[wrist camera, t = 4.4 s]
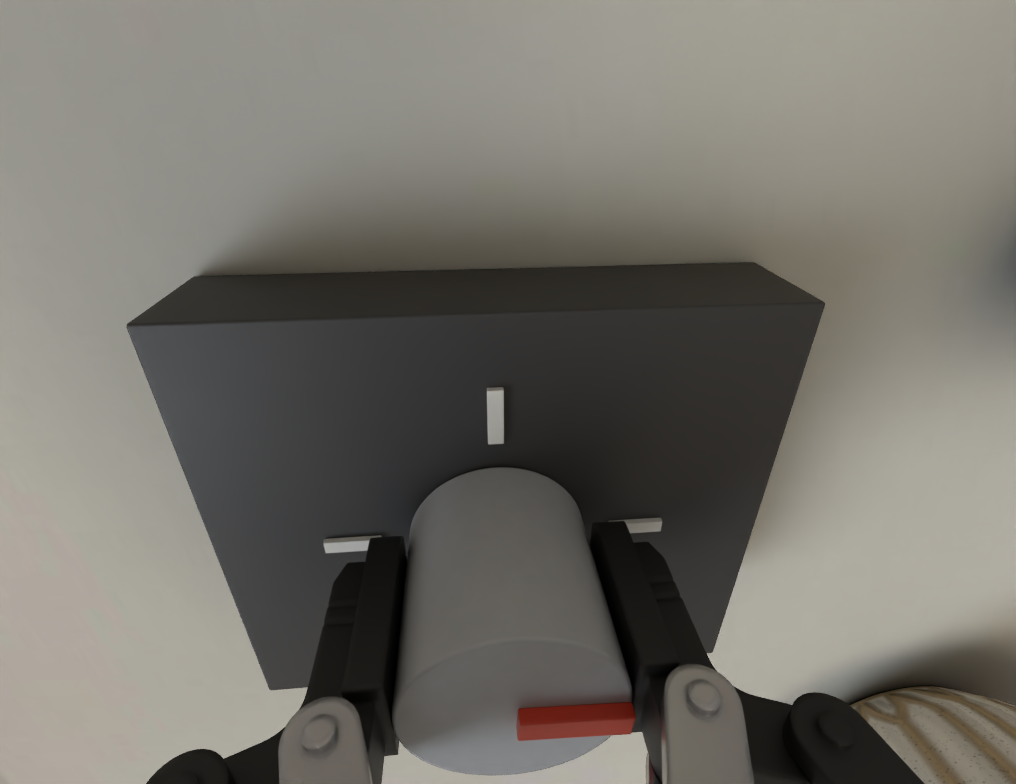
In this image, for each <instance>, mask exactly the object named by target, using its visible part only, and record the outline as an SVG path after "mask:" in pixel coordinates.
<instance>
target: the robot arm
mask: <svg viewBox="0 0 1016 784" xmlns="http://www.w3.org/2000/svg"><path fill="white" fill-rule="evenodd" d="M590 547H591V550H592V554H593V557H594V560H595V564H596V567H597V570H598V574H599V577H600V580H601V584H602V587H603V590H604V594H605V597H606V600H607V604H608V607H609V611H610V614H611V617H612V621H613V624H614V627H615V631H616V634H617V637H618V641H619V644H620V647H621V651H622V654H623V657H624V661H625V664H626V667H627V671H628V674H629V677H630V681H631V685H632V704H633V708H634V711H635V715H636V720H635V723H634V726H633V729H632V732H642V733H643V736H644V739H645V743H646V746H647V750H648V754H647V758H646V784H925V783H924V782H923V781H922V780H921V779H920V778H919V777H918V776H917V775H916V774H915V773H914V772H913V771H912V769H911V768H910V767H909V766H908V765H907V764H906V763H905V762H904V761H903V760H902V759H901V758H900V757H899V755H898V754H897V753H896V752H895V751H894V750H893V749H892V748H891V747H890V746H889V745H888V744H887V743H886V741H885V740H884V739H883V738H882V737H881V736H880V735H879V734H878V733H877V732H876V731H875V730H874V729H873V728H872V726H871V725H870V724H869V723H868V722H867V721H866V720H865V719H864V718H863V717H862V716H861V715H860V714H859V713H858V712H857V711H856V710H855V709H853V708H852V707H851V706H850V705H848V704H847V703H845V702H843V701H842V700H840V699H838V698H836V697H833V696H830V695H828V694H823V693H807V694H804V695H802V696H800V697H798V698H797V699H796V701H795V702H794V704H793V705H790V704H786V703H782V702H778V701H773V700H769V699H765V698H761V697H757V696H754V695H750V694H747V693H745V692H743V691H741V690H739V689H737V688H736V687H734V686H732V684H731V683H730V682H729V681H728V680H727V679H726V678H725V677H724V676H722V675H721V674H720V673H718V672H717V671H716V670H715V668H714V667H713V665H712V664H711V662H710V660H709V658H708V656H707V654H706V651H705V649H704V647H703V645H702V642H701V640H700V638H699V636H698V633H697V631H696V629H695V626H694V624H693V622H692V620H691V617H690V615H689V613H688V611H687V608H686V606H685V604H684V601H683V599H682V598H681V597H680V592H679V590H678V588H677V586H676V583H675V582H674V581H673V576H672V574H671V572H670V570H669V567H668V565H667V563H666V560H665V558H664V557H663V556H662V555H661V554H660V553H659V552H658V551H657V550H656V549H655V548H654V547H653V546H652V545H651V544H650V543H649V542H636V543H634V542H633V540H632V537H631V535H630V532H629V529H628V527H627V525H626V523H625V522H624V521H612V522H597V523H593V524H592V528H591V538H590ZM406 565H407V556H406V549H405V543H404V538H403V536H389V537H375V538H371V539H370V541H369V545H368V550H367V555H366V561H365V562H354V563H347V564H346V566H345V567H344V568H343V570H342V571H341V573H340V574H339V575H338V577H337V578H336V580H335V581H334V582H333V587H332V591H331V595H330V599H329V603H328V608H327V611H326V615H325V619H324V626H323V628H322V632H321V636H320V640H319V644H318V648H317V652H316V656H315V660H314V664H313V669H312V673H311V677H310V681H309V685H308V689H307V693H306V696H305V699H304V702H303V704H302V706H301V708H300V709H299V711H298V712H297V713H296V714H295V715H294V716H293V717H292V718H291V719H290V721H289V722H288V724H287V725H286V727H285V728H283V729H282V730H281V731H280V732H279V733H277V734H276V735H274V736H273V737H271V738H270V739H268V740H266V741H264V742H262V743H260V744H257V745H255V746H253V747H250V748H248V749H246V750H243V751H241V752H239V753H236V754H234V755H232V756H229V757H227V758H225V759H223V758H222V757H221V756H220V755H219V754H218V753H216V752H214V751H212V750H207V749H197V750H192V751H188V752H186V753H183V754H181V755H179V756H177V757H175V758H173V759H172V760H170V761H169V762H168V763H166V764H165V765H164V766H162V767H161V768H160V769H159V770H158V771H157V772H156V773H155V774H154V775H153V776H152V777H151V778H150V779H149V781H148V782H147V783H146V784H381V782H382V772H383V763H384V756H389V755H398V747H399V739H398V737H397V735H396V733H395V731H394V728H393V723H392V703H393V693H394V683H395V674H396V664H397V654H398V644H399V634H400V624H401V614H402V604H403V594H404V584H405V575H406ZM632 732H631V733H632Z"/></svg>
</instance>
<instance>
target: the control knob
mask: <svg viewBox="0 0 1016 784" xmlns="http://www.w3.org/2000/svg"><path fill="white" fill-rule="evenodd" d="M635 720H636V715H635V711H634V708H633V704H632V685H631V681H630V677H629V674H628V671H627V667H626V664H625V661H624V657H623V654H622V651H621V647H620V644H619V641H618V637H617V634H616V631H615V627H614V624H613V621H612V617H611V614H610V611H609V607H608V604H607V600H606V597H605V594H604V590H603V587H602V584H601V580H600V577H599V574H598V570H597V567H596V564H595V560H594V557H593V554H592V550H591V547H590V544H589V540H588V537H587V534H586V530H585V527H584V523H583V520H582V517H581V513H580V510H579V508H578V506H577V504H576V502H575V501H574V499H573V498H572V496H571V495H570V494H569V493H568V492H567V491H566V490H565V489H564V488H563V487H562V486H560V485H559V484H558V483H556V482H555V481H553V480H552V479H550V478H548V477H546V476H544V475H541V474H539V473H536V472H533V471H529V470H525V469H519V468H509V467H496V468H486V469H480V470H475V471H472V472H468V473H465V474H462V475H460V476H457V477H455V478H453V479H451V480H449V481H447V482H445V483H444V484H442V485H441V486H439V487H438V488H436V489H435V490H434V491H433V492H432V493H431V494H430V495H428V497H427V498H426V499H425V500H424V501H423V502H422V504H421V505H420V506H419V508H418V510H417V511H416V513H415V515H414V518H413V520H412V523H411V528H410V535H409V545H408V555H407V565H406V575H405V584H404V594H403V604H402V614H401V624H400V634H399V644H398V654H397V664H396V674H395V683H394V693H393V703H392V723H393V728H394V731H395V733H396V735H397V737H398V739H399V740H400V742H401V743H402V744H403V746H404V747H405V748H406V749H407V750H408V751H410V752H411V753H412V754H413V755H415V756H416V757H418V758H419V759H421V760H423V761H425V762H427V763H429V764H431V765H434V766H437V767H439V768H443V769H446V770H450V771H454V772H459V773H465V774H474V775H511V774H521V773H527V772H533V771H537V770H542V769H546V768H550V767H553V766H556V765H559V764H562V763H565V762H568V761H570V760H573V759H575V758H577V757H579V756H581V755H583V754H586V753H587V752H589V751H591V750H592V749H594V748H596V747H597V746H599V745H600V744H602V743H603V742H604V741H606V740H607V739H608V738H609V737H610V736H611V735H622V734H631V732H632V729H633V726H634V723H635Z"/></svg>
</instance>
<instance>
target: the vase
mask: <svg viewBox="0 0 1016 784" xmlns="http://www.w3.org/2000/svg"><path fill="white" fill-rule="evenodd" d="M850 706H851V707H852V708H853V709H855V710H856V711H857V712H858V713H859V714H860V715H861V716H862V717H863V718H864V719H865V720H866V721H867V722H868V723H869V724H870V725H871V726H872V728H873V729H874V730H875V731H876V732H877V733H878V734H879V735H880V736H881V737H882V738H883V739H884V740H885V741H886V743H887V744H888V745H889V746H890V747H891V748H892V749H893V750H894V751H895V752H896V753H897V754H898V755H899V757H900V758H901V759H902V760H903V761H904V762H905V763H906V764H907V765H908V766H909V767H910V768H911V769H912V771H913V772H914V773H915V774H916V775H917V776H918V777H919V778H920V779H921V780H922V781H923V782H924V783H925V784H1016V706H1015V705H1012V704H1009V703H1006V702H1003V701H1000V700H997V699H994V698H989V697H985V696H981V695H976V694H972V693H968V692H963V691H959V690H953V689H948V688H942V687H931V686H923V687H910V688H903V689H897V690H892V691H888V692H884V693H881V694H877V695H874V696H871V697H868V698H866V699H863V700H861V701H858V702H856V703H854V704H851V705H850Z"/></svg>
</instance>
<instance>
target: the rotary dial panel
mask: <svg viewBox="0 0 1016 784" xmlns="http://www.w3.org/2000/svg"><path fill="white" fill-rule="evenodd" d="M824 306H825V303H824V302H823V301H821V300H819V299H818V298H816V297H814V296H812V295H811V294H809V293H807V292H805V291H804V290H802V289H800V288H798V287H797V286H795V285H793V284H791V283H790V282H788V281H786V280H784V279H783V278H781V277H779V276H777V275H776V274H774V273H772V272H770V271H769V270H767V269H765V268H763V267H762V266H760V265H758V264H756V263H720V264H680V265H640V266H600V267H560V268H520V269H480V270H439V271H399V272H359V273H319V274H279V275H239V276H199V277H193V278H191V279H190V280H188V281H187V282H186V283H184V284H183V285H181V286H180V287H179V288H177V289H176V290H174V291H173V292H172V293H170V294H169V295H167V296H166V297H165V298H163V299H162V300H160V301H159V302H158V303H156V304H155V305H153V306H152V307H150V308H149V309H148V310H146V311H145V312H143V313H142V314H141V315H139V316H138V317H136V318H135V319H134V320H132V321H131V322H129V323H128V324H127V329H128V332H129V334H130V337H131V339H132V342H133V344H134V347H135V350H136V352H137V355H138V357H139V360H140V362H141V365H142V367H143V370H144V372H145V375H146V377H147V380H148V383H149V385H150V388H151V390H152V393H153V395H154V398H155V400H156V403H157V405H158V408H159V410H160V413H161V415H162V418H163V421H164V423H165V426H166V428H167V431H168V433H169V436H170V438H171V441H172V443H173V446H174V448H175V451H176V454H177V456H178V459H179V461H180V464H181V466H182V469H183V471H184V474H185V476H186V479H187V481H188V484H189V486H190V489H191V492H192V494H193V497H194V499H195V502H196V504H197V507H198V509H199V512H200V514H201V517H202V519H203V522H204V524H205V527H206V530H207V532H208V535H209V537H210V540H211V542H212V545H213V547H214V550H215V552H216V555H217V557H218V560H219V563H220V565H221V568H222V570H223V573H224V575H225V578H226V580H227V583H228V585H229V588H230V590H231V593H232V595H233V598H234V601H235V603H236V606H237V608H238V611H239V613H240V616H241V618H242V621H243V623H244V626H245V628H246V631H247V634H248V636H249V639H250V641H251V644H252V646H253V649H254V651H255V654H256V656H257V659H258V661H259V664H260V666H261V669H262V672H263V674H264V677H265V679H266V682H267V684H268V687H269V689H270V690H280V689H291V688H303V687H308V685H309V681H310V677H311V673H312V669H313V664H314V660H315V656H316V652H317V648H318V644H319V640H320V636H321V632H322V628H323V626H324V619H325V615H326V611H327V608H328V603H329V599H330V595H331V591H332V587H333V582H334V581H335V580H336V578H337V577H338V575H339V574H340V573H341V571H342V570H343V568H344V567H345V566H346V564H347V563H354V562H365V561H366V555H367V550H368V545H369V541H370V539H371V538H375V537H389V536H403V538H404V543H405V549H406V556H407V555H408V545H409V535H410V528H411V523H412V520H413V518H414V515H415V513H416V511H417V510H418V508H419V506H420V505H421V504H422V502H423V501H424V500H425V499H426V498H427V497H428V495H430V494H431V493H432V492H433V491H434V490H435V489H436V488H438V487H439V486H441V485H442V484H444V483H445V482H447V481H449V480H451V479H453V478H455V477H457V476H460V475H462V474H465V473H468V472H472V471H475V470H480V469H486V468H496V467H509V468H519V469H525V470H529V471H533V472H536V473H539V474H541V475H544V476H546V477H548V478H550V479H552V480H553V481H555V482H556V483H558V484H559V485H560V486H562V487H563V488H564V489H565V490H566V491H567V492H568V493H569V494H570V495H571V496H572V498H573V499H574V501H575V502H576V504H577V506H578V508H579V510H580V513H581V517H582V520H583V523H584V527H585V530H586V534H587V537H588V540H589V544H590V538H591V528H592V524H593V523H597V522H612V521H624V522H625V523H626V525H627V527H628V529H629V532H630V535H631V537H632V540H633V542H634V543H636V542H649V543H650V544H651V545H652V546H653V547H654V548H655V549H656V550H657V551H658V552H659V553H660V554H661V555H662V556H663V557H664V558H665V560H666V563H667V565H668V567H669V570H670V572H671V574H672V576H673V581H674V582H675V583H676V586H677V588H678V590H679V592H680V597H681V598H682V599H683V601H684V604H685V606H686V608H687V611H688V613H689V615H690V617H691V620H692V622H693V624H694V626H695V629H696V631H697V633H698V636H699V638H700V640H701V642H702V645H703V647H704V649H705V651H706V653H712V652H713V649H714V646H715V643H716V640H717V637H718V634H719V631H720V628H721V625H722V622H723V619H724V615H725V612H726V609H727V606H728V603H729V600H730V597H731V594H732V591H733V588H734V585H735V581H736V578H737V575H738V572H739V569H740V566H741V563H742V560H743V557H744V554H745V551H746V547H747V544H748V541H749V538H750V535H751V532H752V529H753V526H754V523H755V520H756V516H757V513H758V510H759V507H760V504H761V501H762V498H763V495H764V492H765V489H766V486H767V482H768V479H769V476H770V473H771V470H772V467H773V464H774V461H775V458H776V455H777V452H778V448H779V445H780V442H781V439H782V436H783V433H784V430H785V427H786V424H787V421H788V418H789V414H790V411H791V408H792V405H793V402H794V399H795V396H796V393H797V390H798V387H799V383H800V380H801V377H802V374H803V371H804V368H805V365H806V362H807V359H808V356H809V353H810V349H811V346H812V343H813V340H814V337H815V334H816V331H817V328H818V325H819V322H820V319H821V315H822V312H823V309H824Z"/></svg>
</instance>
